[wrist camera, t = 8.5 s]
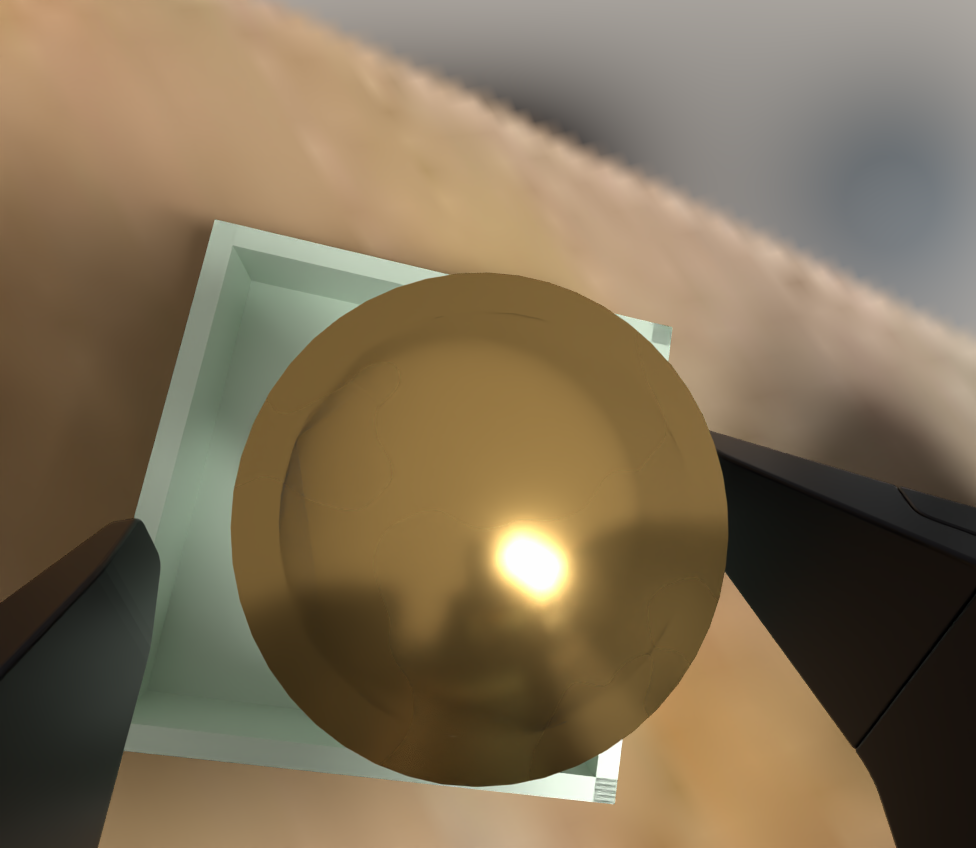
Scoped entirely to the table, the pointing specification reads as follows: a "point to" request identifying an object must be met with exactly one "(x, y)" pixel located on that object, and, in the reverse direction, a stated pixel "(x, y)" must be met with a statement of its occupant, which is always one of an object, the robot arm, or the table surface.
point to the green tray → (208, 507)
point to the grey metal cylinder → (479, 529)
